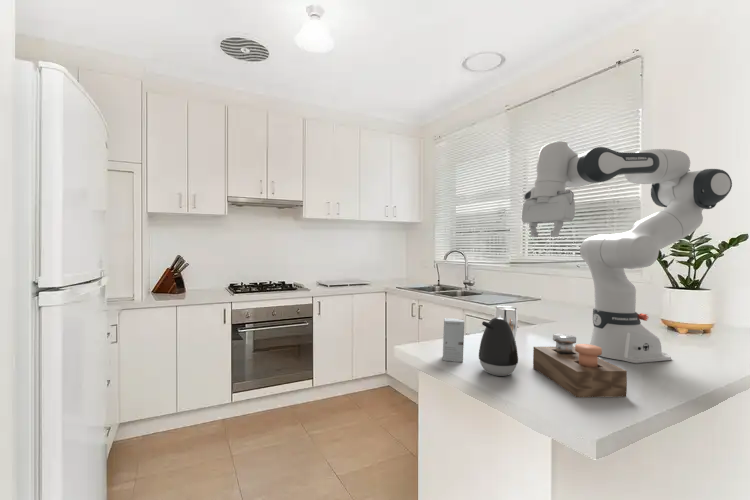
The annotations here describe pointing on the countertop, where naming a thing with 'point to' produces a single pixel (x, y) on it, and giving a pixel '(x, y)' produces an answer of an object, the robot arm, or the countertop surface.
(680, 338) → the countertop surface
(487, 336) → the pump dispenser
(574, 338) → the steel plunger
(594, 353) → the terracotta plunger
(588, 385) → the walnut block
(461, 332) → the skincare box
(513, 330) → the beer glass
